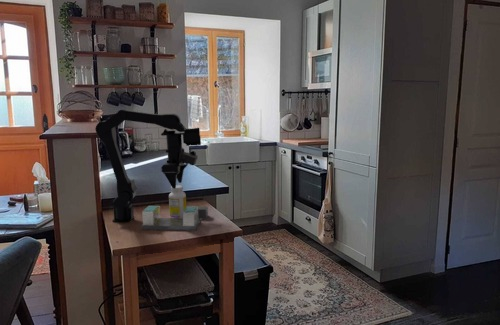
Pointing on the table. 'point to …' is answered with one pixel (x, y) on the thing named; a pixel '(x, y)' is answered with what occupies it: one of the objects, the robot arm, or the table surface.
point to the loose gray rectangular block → (202, 212)
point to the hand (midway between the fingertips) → (177, 185)
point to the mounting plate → (170, 220)
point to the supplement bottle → (177, 202)
